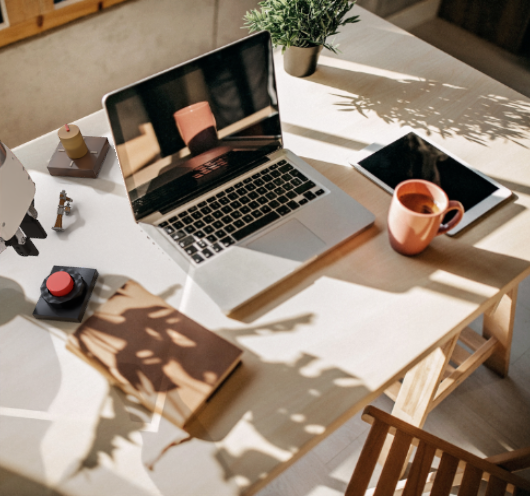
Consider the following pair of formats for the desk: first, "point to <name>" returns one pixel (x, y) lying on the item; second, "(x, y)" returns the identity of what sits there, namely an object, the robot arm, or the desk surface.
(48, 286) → the light button
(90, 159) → the dimmer console
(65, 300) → the switch box
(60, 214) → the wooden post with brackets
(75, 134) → the dimmer knob
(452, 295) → the desk surface
